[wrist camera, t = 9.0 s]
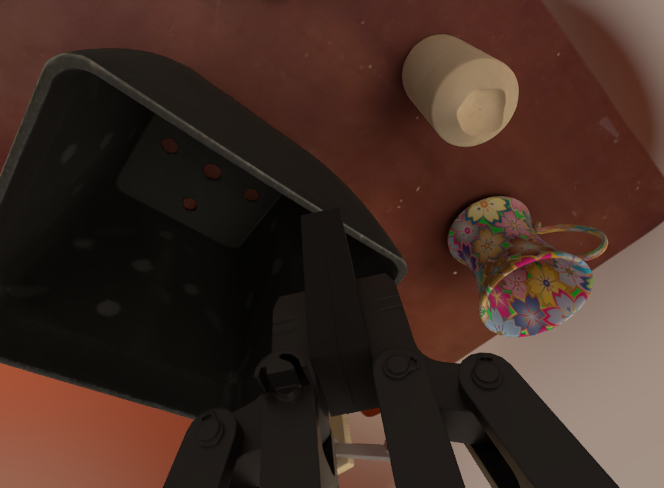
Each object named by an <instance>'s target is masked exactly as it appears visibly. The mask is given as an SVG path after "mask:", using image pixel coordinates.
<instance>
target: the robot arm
mask: <svg viewBox="0 0 664 488" xmlns="http://www.w3.org/2000/svg"><path fill="white" fill-rule="evenodd" d="M300 217H301V233H302V250H303V267H304V284H305V291H304V292H299V293H295V294H290V295H285V296H281V297H279V299H278V301H277V303H276V304H275V306H274V308H273V325H272V334H273V335H272V353H270V354H269V355H267V356H266V357H265V358H263V359H262V360H261V361H260V363H259V364H258V366H257V367H256V369H255V373H254V379H255V380H256V382H257V384H258V386H259V388H260V390H261V392H262V394H261V395H260V396H259V397H258V398H257V399H255V400H254V401H252V402H251V403H249V404H247V405H245V406H243V407H242V408H240V409H238V410H236V411H234V412H231V411H229V410H228V409H225V408H220V407H219V408H213V409H209V410H208V411H206V412H204V413H202V414H200V415H199V416H198V417H197V418H196V419H195V420H194V421H193V422H192V423H191V425H190V427H189V429H188V430H187V432H186V434H185V436H184V439H183V441H182V444H181V446H180V448H179V451H178V453H177V455H176V458H175V460H174V462H173V465H172V467H171V470H170V472H169V475H168V477H167V479H166V481H165V484H164V486H163V488H339V482H338V472H337V462H336V453H335V443H334V436H333V433H332V430H331V427H330V420H329V413H330V415H331V417H334V416H339V415H344V414H349V413H353V412H358V411H363V410H368V409H373V408H378V407H380V412H381V417H382V422H383V426H384V432H385V437H386V442H387V447H388V452H389V456H390V461H391V466H392V471H393V476H394V481H395V486H396V488H465V485H464V482H463V479H462V476H461V473H460V470H459V467H458V464H457V461H456V458H455V455H454V452H453V449H452V446H451V443H450V441H452V442H459V443H464V444H465V446H466V447H467V449H468V450H469V452H470V454H471V455H472V457H473V459H474V460H475V462H476V463H477V465H478V466H479V468H480V470H481V471H482V473H483V474H484V476H485V477H486V479H487V480H488V482H489V484H490V485H491V487H492V488H619V486H618V485H617V484H616V483H615V482H614V481H613V480H612V478H611V477H610V476H609V475H608V474H607V473H606V472H605V471H604V469H602V467H601V466H600V465H599V464H598V463H597V462H596V460H595V459H594V458H593V457H592V456H591V455H590V454H589V453H588V452H587V450H586V449H585V448H584V447H583V446H582V445H581V444H580V442H579V441H578V440H577V439H576V438H575V437H574V436H573V434H572V433H571V432H570V431H569V430H568V429H567V428H566V426H565V425H564V424H563V423H562V422H561V421H560V420H559V418H558V417H557V416H556V415H555V414H554V413H553V412H552V411H551V409H550V408H549V407H548V406H547V405H546V404H545V403H544V401H543V400H542V399H541V398H540V397H539V396H538V395H537V394H536V393H535V391H534V390H533V389H532V388H531V387H530V386H529V385H528V383H527V382H526V381H525V380H524V379H523V378H522V377H521V375H520V374H519V373H518V372H517V371H516V370H515V369H514V368H513V366H512V365H511V364H509V363H508V362H507V361H506V360H505V359H503V358H502V357H500V356H497V355H494V354H491V353H477V354H472V355H470V356H468V357H467V358H466V359H464V360H463V361H462V363H461V364H457V363H446V362H440V361H435V360H433V359H430V358H428V357H427V356H425V355H424V354H422V353H421V351H420V350H419V349H418V348H417V346H416V344H415V342H414V339H413V336H412V333H411V330H410V327H409V323H408V320H407V317H406V314H405V311H404V308H403V306H402V302H401V299H400V297H399V293H398V290H397V287H396V284H395V282H394V281H393V280H392V279H391V278H390V277H389V276H388V275H387V274H386V273H383V274H378V275H374V276H369V277H364V278H360V279H355V274H354V269H353V264H352V260H351V255H350V251H349V247H348V242H347V238H346V233H345V229H344V224H343V220H342V215H341V211H340V207H337V208H332V209H328V210H324V211H319V212H315V213H310V214H306V215H301V216H300Z"/></svg>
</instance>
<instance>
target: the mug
mask: <svg viewBox="0 0 664 488" xmlns="http://www.w3.org/2000/svg"><path fill="white" fill-rule="evenodd" d="M534 229H535V231H534ZM534 229H533V227H532V220H531V215H530V212H529V210H528V208H527V207H526V206H525V205H524V204H523V203H522V202H520V201H519V200H517V199H514V198H511V197H506V196H495V197H489V198H485V199H482V200H480V201H477V202H475V203H473V204H472V205H470V206H469V207H467V208H466V209H465V210H463V211H462V212H461V213H460V214H459V215H458V217H457V218H456V219H455V221H454V222H453V224H452V226H451V228H450V230H449V234H448V247H449V250H450V253H451V254H452V256H453V257H454V258H455V259H456V260H457V261H459V262H460V263H462V264H465V265H466V266H467V267H468V268H469V269H470V270H471V271H472V273H473V275H474V277H475V279H476V281H477V285H478V289H479V314H480V318H481V320H482V322H483V324H484V325H485V326H486V327H487V328H488V329H489V330H491V331H492V332H494V333H496V334H499V335H502V336H507V337H524V336H530V335H535V334H539V333H542V332H545V331H547V330H549V329H552V328H554V327H556V326H558V325H560V324H561V323H563V322H564V321H566V320H567V319H569V318H570V317H571V316H572V315H574V314H575V313H576V312H577V311H578V309H580V308H581V307H582V305H583V304H584V303H585V301H586V300H587V298H588V296H589V294H590V292H591V289H592V284H593V276H592V272H591V270H590V268H589V266H588V265H587V264H586V263H585V262H584V261H587V260H591V259H594V258H596V257H598V256H600V255H601V254H602V253H603V252H604V251H605V250H606V248H607V246H608V240H607V237H606V235H605V234H604V233H603V232H601V231H600V230H598V229H596V228H593V227H589V226H584V225H577V224H559V225H551V226H545V227H541V222H540V221H536V223H535V225H534ZM558 231H579V232H585V233H590V234H593V235H595V236H597V237H599V238H600V239H601V240H602V242H601V244H600V246H599V247H598V248H596V249H595V250H593V251H591V252H589V253H585V254H569V253H566V252H563V251H561V250H558V249H556V248H554V247H552V246H551V245H549V244H547V243H546V242H545V241H544V240H542V239H541V238H540V237H539V236H538V235H537V234H544V233H550V232H558Z"/></svg>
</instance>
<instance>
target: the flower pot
mask: <svg viewBox="0 0 664 488" xmlns="http://www.w3.org/2000/svg"><path fill="white" fill-rule="evenodd" d="M165 138H171V139H173V140H174V141H175V142H176V143H177V145H178V150H177V152H176V153H168V152H165V151H164V150H163V149H162V146H161V142H162V140H163V139H165ZM207 164H215V165H216V166H218V167H219V168H220V169H221V171H222V172H221V177H220V178H218V179H215V180H213V179H210V178H208V177H206V176H205V174H204V172H203V169H204V166H205V165H207ZM248 189H254V190H256V191H257V192H258V194H259V198H258V200H256V201H248V200H246V199H245V197H244V192H245V191H246V190H248ZM185 198H193V199H194V200H195V201H196V202H197V208H196V209H195V210H188V209H186V208H184V206H183V204H182V202H183V199H185ZM337 207H340V211H341V215H342V220H343V224H344V229H345V233H346V238H347V242H348V247H349V251H350V255H351V260H352V264H353V269H354V274H355V279H360V278H364V277H369V276H374V275H378V274H383V273H386V274H387V275H388V276H389V277H390V278H391V279H392V280H393V281H394V282H395V284H396V286H397V285H398V284H399V283H400V282H401V281H402V280H403V278H404V277H405V275H406V274H407V270H408V268H407V264H406V262H405V261H404V259H403V257H402V256H401V254H400V252H399V251H398V250H397V248H396V247H395V245H394V244H393V242H392V241H391V239H390V238H389V236H388V235H387V234H386V232H385V231H384V230H383V228H382V227H381V226H380V224H379V223H378V222H377V220H376V219H375V218H374V217H373V215H372V214H371V213H370V211H369V210H368V209H367V208H366V207H365V205H364V204H363V203H362V202H361V201H360V200H359V199H358V197H357V196H356V195H355V194H354V193H353V192H352V191H351V190H350V189H349V188H348V187H347V186H346V185H345V184H344V183H343V182H342V181H341V180H340V179H339V178H338V177H337V176H336V175H335V174H334V173H333V172H332V171H331V170H330V169H328V168H327V167H326V166H325V165H324V164H323V163H321V162H320V161H319V160H318V159H316V158H315V157H314V156H313V155H311V154H310V153H309V152H307V151H306V150H304V149H303V148H301V147H300V146H299V145H297V144H296V143H294V142H293V141H291V140H290V139H289V138H287V137H286V136H284V135H283V134H282V133H280V132H279V131H277V130H276V129H274V128H273V127H272V126H270V125H269V124H267V123H266V122H265V121H263V120H262V119H260V118H259V117H257V116H256V115H255V114H253V113H252V112H250V111H249V110H248V109H246V108H245V107H243V106H242V105H241V104H239V103H238V102H236V101H235V100H234V99H232V98H231V97H229V96H228V95H226V94H225V93H224V92H222V91H221V90H219V89H218V88H217V87H215V86H214V85H212V84H211V83H210V82H208V81H207V80H205V79H204V78H203V77H201V76H200V75H198V74H197V73H196V72H194V71H193V70H191V69H190V68H188V67H186V66H185V65H183V64H181V63H178V62H176V61H174V60H172V59H169V58H167V57H164V56H161V55H158V54H154V53H150V52H145V51H140V50H132V49H119V48H104V49H86V50H78V51H72V52H66V53H61V54H57V55H56V56H54V57H52V58H50V59H49V60H48V61H47V62H46V63H45V65H44V67H43V69H42V72H41V74H40V77H39V79H38V82H37V84H36V87H35V89H34V92H33V95H32V97H31V100H30V102H29V105H28V107H27V109H26V112H25V114H24V117H23V119H22V122H21V124H20V127H19V129H18V132H17V134H16V137H15V139H14V142H13V144H12V147H11V149H10V152H9V154H8V157H7V159H6V162H5V164H4V167H3V169H2V172H1V174H0V363H2V364H6V365H9V366H12V367H16V368H19V369H23V370H26V371H29V372H33V373H36V374H39V375H43V376H46V377H50V378H54V379H57V380H60V381H63V382H67V383H71V384H74V385H77V386H81V387H85V388H88V389H91V390H95V391H98V392H101V393H105V394H108V395H112V396H116V397H119V398H122V399H126V400H129V401H132V402H135V403H139V404H142V405H146V406H150V407H153V408H157V409H160V410H164V411H167V412H171V413H174V414H177V415H180V416H184V417H187V418H190V419H194V420H195V419H196V418H197V417H198V416H199V415H200V414H202V413H204V412H206V411H208V410H209V409H213V408H219V407H220V408H225V409H228V410H229V411H231V412H234V411H236V410H238V409H240V408H242V407H243V406H245V405H247V404H249V403H251V402H252V401H254V400H255V399H257V398H258V397H259V396H260V395H261V394H262V392H261V390H260V388H259V386H258V384H257V382H256V380H255V379H254V373H255V369H256V367H257V366H258V364H259V363H260V361H261V360H262V359H263V358H265V357H266V356H267V355H269V354H270V353H272V335H273V334H272V325H273V308H274V306H275V304H276V303H277V301H278V299H279V297H281V296H285V295H290V294H295V293H299V292H304V291H305V284H304V267H303V250H302V233H301V217H300V216H301V215H306V214H310V213H315V212H319V211H324V210H328V209H332V208H337Z"/></svg>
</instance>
